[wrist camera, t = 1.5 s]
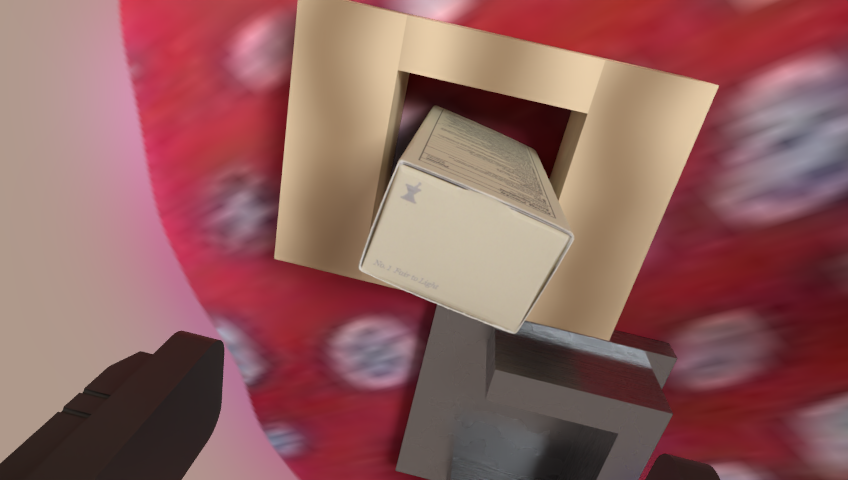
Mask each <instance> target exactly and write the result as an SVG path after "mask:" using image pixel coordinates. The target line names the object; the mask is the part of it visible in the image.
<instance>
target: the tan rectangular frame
mask: <svg viewBox="0 0 848 480" xmlns="http://www.w3.org/2000/svg"><path fill="white" fill-rule="evenodd" d="M410 73H413V74H417V75H422V76H426V77H430V78H435V79H439V80H443V81H448V82H452V83H457V84H461V85H465V86H470V87H474V88H478V89H483V90H487V91H491V92H496V93H500V94H504V95H509V96H513V97H517V98H522V99H526V100H530V101H535V102H539V103H544V104H548V105H552V106H557V107H561V108H565V109H570V110H571V113H570V117H569V120H568V123H567V126H566V129H565V132H564V135H563V138H562V142H561V145H560V148H559V151H558V154H557V157H556V160H555V163H554V167H553V170H552V173H551V176H550V179H549V181H550V183H551V185H552V188H553V190H554V192H555V195H556V197H557V199H558V201H559V204H560V206H561V208H562V210H563V213H564V215H565V217H566V219H567V221H568V224H569V226H570V228H571V230H572V232H573V235H574V241H573V243H572V244H571V246H570V248H569V250H568V251H567V253H566V255H565V256H564V258H563V260H562V261H561V263H560V265H559V267H558V268H557V270H556V272H555V273H554V275H553V276H552V278H551V280H550V281H549V283H548V284H547V286H546V288H545V289H544V291H543V293H542V294H541V296H540V298H539V299H538V301H537V302H536V304H535V305H534V307H533V309H532V310H531V312H530V313H529V315H528V316H527V318H526V319H525V320H526V321H530V322H534V323H538V324H542V325H546V326H550V327H554V328H558V329H562V330H566V331H570V332H574V333H579V334H583V335H587V336H591V337H595V338H599V339H603V340H607V341H609V340H610V338H611V335H612V333H613V331H614V328H615V326H616V324H617V321H618V319H619V317H620V315H621V312H622V310H623V308H624V305H625V303H626V301H627V298H628V296H629V294H630V291H631V289H632V287H633V284H634V282H635V280H636V277H637V275H638V273H639V270H640V268H641V266H642V263H643V261H644V259H645V256H646V254H647V252H648V249H649V247H650V245H651V242H652V240H653V238H654V235H655V233H656V231H657V228H658V226H659V224H660V222H661V219H662V217H663V215H664V212H665V210H666V208H667V205H668V203H669V201H670V198H671V196H672V194H673V191H674V189H675V187H676V184H677V182H678V180H679V177H680V175H681V173H682V170H683V168H684V166H685V163H686V161H687V159H688V156H689V154H690V152H691V149H692V147H693V145H694V142H695V140H696V138H697V135H698V133H699V131H700V129H701V126H702V124H703V122H704V119H705V117H706V115H707V112H708V110H709V108H710V105H711V103H712V101H713V98H714V96H715V94H716V91H717V89H718V87H719V85H715V84H711V83H708V82H704V81H701V80H697V79H693V78H690V77H686V76H682V75H677V74H673V73H668V72H664V71H659V70H655V69H651V68H646V67H642V66H637V65H633V64H628V63H624V62H620V61H615V60H611V59H606V58H602V57H597V56H593V55H589V54H584V53H580V52H575V51H571V50H566V49H562V48H558V47H553V46H549V45H544V44H540V43H535V42H531V41H527V40H522V39H518V38H513V37H509V36H504V35H500V34H496V33H491V32H487V31H482V30H478V29H473V28H469V27H465V26H460V25H456V24H451V23H447V22H442V21H438V20H434V19H429V18H425V17H420V16H416V15H411V14H407V13H403V12H398V11H394V10H389V9H385V8H380V7H376V6H372V5H367V4H363V3H358V2H354V1H349V0H298V6H297V17H296V27H295V38H294V49H293V60H292V71H291V82H290V92H289V103H288V114H287V125H286V136H285V147H284V157H283V168H282V179H281V190H280V201H279V212H278V222H277V233H276V244H275V255H274V259H277V260H281V261H285V262H290V263H294V264H298V265H302V266H306V267H310V268H314V269H318V270H322V271H326V272H330V273H334V274H338V275H342V276H347V277H351V278H355V279H359V280H363V281H367V282H371V283H375V284H379V285H383V286H387V287H391V288H395V289H399V288H397V287H394V286H392V285H390V284H387V283H385V282H383V281H381V280H379V279H376V278H374V277H372V276H370V275H368V274H366V273H363V272H362V271H360V270H359V267H358V265H359V261H360V258H361V255H362V252H363V249H364V246H365V243H366V241H367V238H368V235H369V232H370V229H371V227H372V224H373V222H374V219H375V216H376V214H377V211H378V209H379V206H380V204H381V201H382V199H383V196H384V194H385V191H386V189H387V187H388V184H389V182H390V176H391V171H392V166H393V160H394V155H395V149H396V144H397V139H398V133H399V128H400V122H401V117H402V111H403V106H404V101H405V95H406V90H407V84H408V79H409V74H410ZM399 290H401V289H399Z"/></svg>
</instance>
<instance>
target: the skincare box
mask: <svg viewBox="0 0 848 480" xmlns="http://www.w3.org/2000/svg"><path fill="white" fill-rule="evenodd" d="M573 241H574V235H573V232H572V230H571V228H570V226H569V224H568V221H567V219H566V217H565V215H564V213H563V210H562V208H561V206H560V204H559V201H558V199H557V197H556V195H555V192H554V190H553V188H552V185H551V183H550V181H549V179H548V177H547V175H546V172H545V170H544V168H543V165H542V163H541V161H540V159H539V157H538V155H537V152H536V150H534V149H533V148H531V147H529V146H526V145H524V144H522V143H520V142H518V141H516V140H514V139H512V138H510V137H507V136H505V135H503V134H501V133H499V132H497V131H494V130H492V129H490V128H488V127H485V126H483V125H481V124H479V123H477V122H474V121H472V120H470V119H467V118H465V117H463V116H460V115H458V114H456V113H453V112H451V111H448V110H446V109H444V108H441V107H439V106H436V105H435V106H433V107H432V109H431V110H430V112H429V113H428V115H427V117H426V118H425V120H424V121H423V123H422V124H421V126H420V127H419V129H418V131H417V132H416V134H415V135H414V137H413V139H412V140H411V142H410V143H409V145H408V146H407V148H406V150H405V151H404V153H403V154H402V156H401V158H400V159H399V161H398V163H397V165H396V168H395V170H394V173H393V175H392V177H391V180H390V182H389V184H388V187H387V189H386V191H385V194H384V196H383V199H382V201H381V204H380V206H379V209H378V211H377V214H376V216H375V219H374V222H373V224H372V227H371V229H370V232H369V235H368V238H367V241H366V243H365V246H364V249H363V252H362V255H361V258H360V261H359V265H358V267H359V270H360V271H362V272H363V273H366V274H368V275H370V276H372V277H374V278H376V279H379V280H381V281H383V282H385V283H387V284H390V285H392V286H394V287H397V288H399V289H401V290H404V291H406V292H409V293H411V294H413V295H416V296H418V297H420V298H423V299H425V300H427V301H430V302H432V303H436V304H438V305H440V306H443V307H445V308H447V309H450V310H453V311H455V312H457V313H460V314H462V315H465V316H467V317H470V318H472V319H475V320H478V321H480V322H483V323H485V324H488V325H490V326H493V327H495V328H498V329H501V330H503V331H506V332H509V333H512V334H515V333H517V332H518V330H519V329H520V327H521V326H522V324H523V323H524V321H525V319H526V318H527V316H528V315H529V313H530V312H531V310H532V309H533V307H534V305H535V304H536V302H537V301H538V299H539V298H540V296H541V294H542V293H543V291H544V289H545V288H546V286H547V284H548V283H549V281H550V280H551V278H552V276H553V275H554V273H555V272H556V270H557V268H558V267H559V265H560V263H561V261H562V260H563V258H564V256H565V255H566V253H567V251H568V250H569V248H570V246H571V244H572V243H573Z"/></svg>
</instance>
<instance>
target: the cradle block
mask: <svg viewBox="0 0 848 480" xmlns="http://www.w3.org/2000/svg"><path fill="white" fill-rule="evenodd" d="M676 360H677V357H676V355H675V354H674V352H673V350H672V348H671V346H670V344H669V343H665V342H661V341H657V340H653V339H649V338H645V337H640V336H636V335H632V334H628V333H624V332H620V331H616V330H614V331H613V333H612V335H611V338H610V340H609V341H607V340H603V339H599V338H595V337H591V336H587V335H583V334H579V333H574V332H570V331H566V330H562V329H558V328H554V327H550V326H546V325H542V324H538V323H534V322H530V321H526V320H525V321H524V323H523V324H522V326H521V327H520V329H519V330H518V332H517V333H515V334H512V333H509V332H506V331H503V330H501V329H498V328H495V327H493V326H490V325H488V324H485V323H483V322H480V321H478V320H475V319H472V318H470V317H467V316H465V315H462V314H460V313H457V312H455V311H453V310H450V309H447V308H445V307H443V306H440V305H438V304H437V305H436V309H435V313H434V317H433V321H432V325H431V329H430V333H429V337H428V341H427V345H426V349H425V353H424V357H423V361H422V365H421V369H420V373H419V377H418V381H417V385H416V389H415V393H414V397H413V401H412V405H411V409H410V413H409V417H408V421H407V425H406V429H405V433H404V437H403V441H402V445H401V449H400V453H399V457H398V461H397V466H396V470H395V471H399V472H403V473H406V474H410V475H414V476H418V477H422V478H426V479H430V480H638V479H639V477H640V475H641V473H642V471H643V470H644V468H645V466H646V464H647V462H648V460H649V458H650V456H651V454H652V453H653V451H654V449H655V447H656V445H657V443H658V441H659V439H660V438H661V436H662V434H663V432H664V430H665V428H666V426H667V424H668V423H669V421H670V419H671V417H672V415H673V413H672V411H671V408H670V406H669V404H668V402H667V400H666V398H665V395H664V393H663V391H662V388H663V386H664V384H665V382H666V380H667V378H668V376H669V374H670V372H671V370H672V368H673V366H674V364H675V362H676Z"/></svg>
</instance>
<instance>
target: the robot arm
mask: <svg viewBox="0 0 848 480" xmlns="http://www.w3.org/2000/svg"><path fill="white" fill-rule="evenodd" d="M223 366H224V344H223V342H222V341H221V340H217V339H213V338H209V337H205V336H201V335H197V334H193V333H189V332H185V331H178V332H176V333H175V334H174V335H172V336H171V337H170V338H169V339H168V340H167V341H166V342H165V343H164V344H163V345H162V346H161V347H160V348H159V349H158V350H157V351H156V352H155V353H154V354H149V353H145V352H138V353H136V354H134V355H132V356H130V357H128V358H126V359H123V360H121V361H119V362H117V363H115V364H113V365H111V366H109V367H108V368H107V369H106V370H104V371H103V372H102V373H101V374H100V375H99V376H98V377H97V378H96V379H94V380H93V381H92V382H91V383H90V384H89V385H88V386H87V387H85V389H84V392H83V393H79V394H78V395H76V396H75V397H74V398H73V399H72V400H71V401H70V402H69V403H68V404H66V405H65V406H64V408H63V411H62V412H57V413H56V414H55V415H54V416H53V417H52V418H51V419H50V420H49V421H47V422H46V423H45V424H44V425H43V426H42V427H41V428H40V429H39V430H38V431H36V432H35V433H34V434H33V435H32V436H31V437H29V438H28V439H27V440H26V441H25V442H24V443H23V444H22V445H21V446H19V447H18V448H17V449H16V450H15V451H14V452H13V453H12V454H10V455H9V456H8V457H7V458H6V459H5V460H4V461H3V462H2V463H0V480H182V478H183V477H184V475H185V474H186V472H187V471H188V469H189V468H190V466H191V465H192V463H193V462H194V460H195V459H196V458H197V456H198V455H199V453H200V452H201V450H202V449H203V447H204V446H205V444H206V443H207V441H208V440H209V438H210V436H211V435H212V433H213V431H214V428H215V426H216V423H217V421H218V418H219V414H220V410H221V403H222V383H223ZM645 480H720V478H719V476H718V474H717V473H716V471H715V470H714V469H713V467H711V466H710V465H708V464H705V463H701V462H697V461H693V460H689V459H685V458H681V457H677V456H673V455H669V454H662V455H660V456H659V457H658V458H657V459H656V461H655V463H654V465H653V466H652V468H651V470H650V472H649V474H648V476H647V477H646V479H645Z"/></svg>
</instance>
